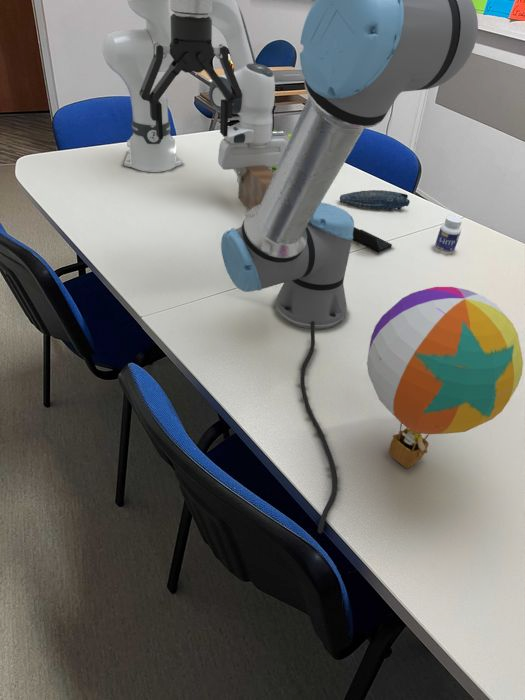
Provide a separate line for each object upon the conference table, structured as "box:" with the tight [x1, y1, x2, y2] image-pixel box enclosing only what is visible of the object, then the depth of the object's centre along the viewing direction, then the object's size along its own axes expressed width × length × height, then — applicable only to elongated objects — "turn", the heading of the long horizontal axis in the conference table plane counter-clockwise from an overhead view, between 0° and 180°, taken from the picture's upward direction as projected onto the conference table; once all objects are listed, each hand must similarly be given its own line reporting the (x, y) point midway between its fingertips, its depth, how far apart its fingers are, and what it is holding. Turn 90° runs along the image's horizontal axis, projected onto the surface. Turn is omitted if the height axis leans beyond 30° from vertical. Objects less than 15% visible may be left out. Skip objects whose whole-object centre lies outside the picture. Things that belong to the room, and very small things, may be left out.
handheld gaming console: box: [352, 226, 393, 254], centre depth 138 cm, size 12×7×10 cm
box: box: [237, 166, 275, 211], centre depth 143 cm, size 26×6×11 cm, turn 23°
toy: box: [366, 286, 524, 469], centre depth 73 cm, size 20×20×30 cm
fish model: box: [339, 189, 411, 211], centre depth 158 cm, size 7×21×5 cm, turn 84°
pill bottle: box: [434, 215, 463, 255], centre depth 137 cm, size 5×5×9 cm
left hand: (252, 181), depth 150 cm, fingers closed on box, 6 cm apart
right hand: (192, 135), depth 107 cm, fingers open, 13 cm apart
